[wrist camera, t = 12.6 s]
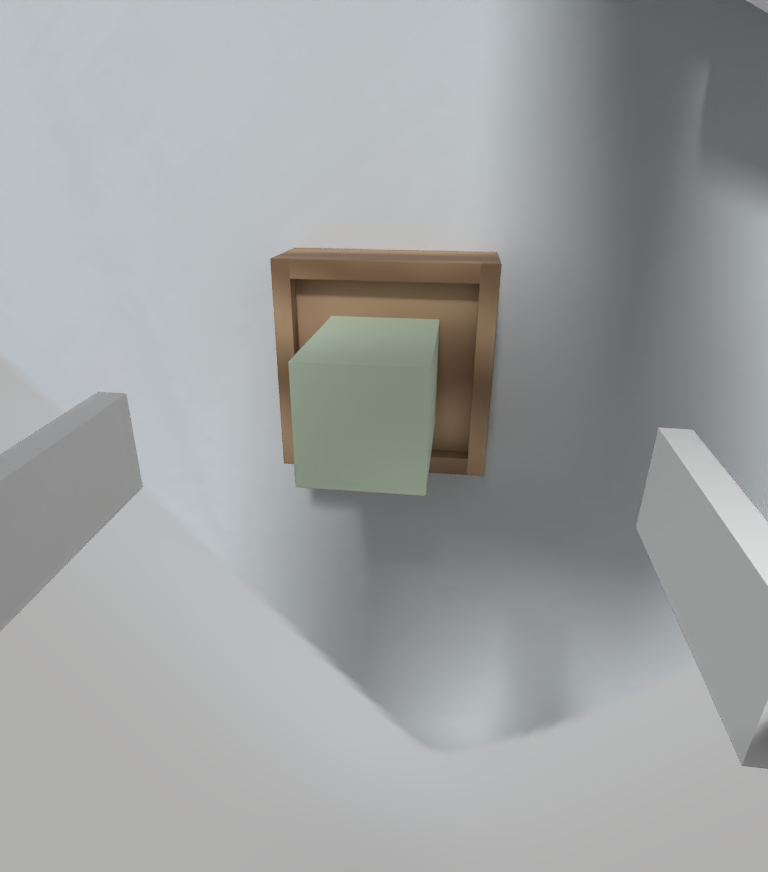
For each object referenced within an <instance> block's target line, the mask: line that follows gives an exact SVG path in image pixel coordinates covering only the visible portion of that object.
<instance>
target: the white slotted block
mask: <svg viewBox="0 0 768 872" xmlns="http://www.w3.org/2000/svg"><path fill="white" fill-rule="evenodd" d="M746 1H748V2H749V3H751V4H753V5H754V6H756V7H758V8H760V9H761V10H763V11H765V12H767V13H768V0H746Z"/></svg>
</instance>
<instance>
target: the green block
mask: <svg viewBox="0 0 768 872" xmlns="http://www.w3.org/2000/svg"><path fill="white" fill-rule="evenodd" d="M439 321H440V319H412V318H382V317H352V316H331V317H330V318H329V319H328V320H327V321H326V322H325V323H324V324H323V325H322V327H321V328H320V329H319V330H318V331H317V332H316V333H315V334H314V335H313V336H312V337H311V338H310V339H309V340H308V341H307V342H306V344H305V345H304V346H303V347H302V348H301V349H300V350H299V351H298V352H297V353H296V354H295V355H294V356H293V357H292V358H291V359H290V361H289V362H288V365H289V382H290V399H291V415H292V432H293V449H294V466H295V483H296V487H300V488H315V489H330V490H345V491H360V492H375V493H390V494H406V495H421V496H426V489H427V482H428V474H429V466H430V458H431V450H432V442H433V434H434V427H435V414H436V391H437V367H438V344H439Z"/></svg>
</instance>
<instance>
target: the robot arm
mask: <svg viewBox="0 0 768 872" xmlns="http://www.w3.org/2000/svg"><path fill="white" fill-rule="evenodd" d="M142 487H143V486H142V480H141V475H140V469H139V463H138V458H137V452H136V446H135V441H134V435H133V429H132V424H131V418H130V412H129V407H128V401H127V395H126V394H123V393H107V392H97V393H96V394H94V395H93V396H91V397H89V398H88V399H86V400H85V401H83V402H82V403H80V404H78V405H77V406H75V407H74V408H72V409H71V410H69V411H67V412H66V413H64V414H63V415H61V416H60V417H58V418H56V419H55V420H53V421H52V422H50V423H49V424H47V425H46V426H44V427H42V428H41V429H39V430H38V431H36V432H35V433H33V434H31V435H30V436H28V437H27V438H25V439H24V440H22V441H20V442H19V443H17V444H16V445H14V446H13V447H11V448H9V449H8V450H7V451H5V452H3V453H2V454H0V631H1V630H2V629H3V628H4V627H5V626H6V625H7V624H8V623H9V622H10V621H11V620H12V619H13V618H14V617H15V616H16V615H17V614H18V613H19V612H20V611H21V610H22V609H23V608H24V607H25V606H26V605H27V604H28V603H29V602H30V601H31V600H32V599H33V598H34V597H35V596H36V595H37V594H38V593H39V592H40V591H41V590H42V589H43V588H44V587H45V586H46V585H47V584H48V583H49V582H50V581H51V579H52V578H54V577H55V575H57V574H58V573H59V571H60V570H61V569H62V568H63V567H64V566H65V565H66V564H67V563H68V562H69V561H70V560H71V559H72V558H73V557H74V556H75V555H76V554H77V553H78V552H79V551H80V550H81V549H82V548H83V547H84V546H85V545H86V544H87V543H88V542H89V541H90V540H91V539H92V538H93V537H94V536H95V535H96V534H97V533H98V532H99V531H100V530H101V529H102V528H103V527H104V526H105V525H106V524H107V523H108V522H109V521H110V520H111V519H112V518H113V517H114V516H115V515H116V514H117V513H118V512H119V511H120V510H121V508H123V507H124V505H126V504H127V502H128V501H129V500H131V499H132V497H133V496H134V495H135V494H136V493H137V492H138V491H139V490H140V489H141V488H142ZM636 529H637V531H638V533H639V535H640V538H641V540H642V542H643V544H644V547H645V549H646V551H647V553H648V556H649V558H650V560H651V562H652V565H653V567H654V569H655V571H656V574H657V576H658V578H659V580H660V583H661V585H662V587H663V589H664V592H665V594H666V596H667V598H668V601H669V603H670V605H671V607H672V610H673V612H674V614H675V616H676V619H677V621H678V623H679V625H680V628H681V630H682V632H683V634H684V637H685V639H686V641H687V643H688V646H689V648H690V650H691V652H692V655H693V657H694V659H695V661H696V664H697V666H698V668H699V670H700V672H701V675H702V677H703V679H704V681H705V684H706V686H707V688H708V690H709V693H710V695H711V697H712V699H713V702H714V704H715V706H716V708H717V711H718V713H719V715H720V717H721V720H722V722H723V724H724V726H725V729H726V731H727V733H728V735H729V737H730V740H731V742H732V744H733V747H734V749H735V751H736V753H737V756H738V758H739V760H740V762H741V764H742V766H750V767H758V768H767V769H768V522H767V521H766V519H765V518H764V517H763V516H762V514H761V513H760V512H759V511H758V509H757V508H756V507H755V506H754V505H753V503H752V502H751V501H750V500H749V498H748V497H747V496H746V495H745V493H744V492H743V491H742V490H741V488H740V487H739V486H738V485H737V484H736V482H735V481H734V480H733V479H732V477H731V476H730V475H729V474H728V472H727V471H726V470H725V469H724V468H723V466H722V465H721V464H720V463H719V461H718V460H717V459H716V458H715V456H714V455H713V454H712V453H711V451H710V450H709V449H708V448H707V447H706V445H705V444H704V443H703V442H702V440H701V439H700V438H699V437H698V435H697V434H696V433H695V432H694V430H692V429H676V428H660V427H658V431H657V435H656V440H655V444H654V449H653V453H652V458H651V462H650V466H649V471H648V475H647V480H646V484H645V489H644V493H643V497H642V502H641V506H640V511H639V515H638V520H637V524H636Z"/></svg>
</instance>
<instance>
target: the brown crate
mask: <svg viewBox="0 0 768 872" xmlns="http://www.w3.org/2000/svg"><path fill="white" fill-rule="evenodd" d="M271 274H272V290H273V305H274V320H275V335H276V350H277V365H278V380H279V395H280V411H281V426H282V441H283V456H284V463H287V464H294V449H293V432H292V415H291V399H290V382H289V365H288V362H289V361H290V359H291V358H292V357H293V356H294V355H295V354H296V353H297V352H298V351H299V350H300V349H301V348H302V347H303V346H304V345H305V344H306V342H307V341H308V340H309V339H310V338H311V337H312V336H313V335H314V334H315V333H316V332H317V331H318V330H319V329H320V328H321V327H322V325H323V324H324V323H325V322H326V321H327V320H328V319H329V318H330V317H331V316H352V317H382V318H412V319H440V321H439V344H438V367H437V391H436V414H435V427H434V434H433V442H432V450H431V458H430V466H429V472H431V473H447V474H463V475H479V476H484V470H485V458H486V445H487V433H488V421H489V409H490V396H491V384H492V372H493V360H494V347H495V335H496V323H497V311H498V298H499V286H500V274H501V262H500V259H499V257H498V254H497V252H459V251H413V250H367V249H321V248H294V249H291V250H289V251H287V252H285V253H282V254H280V255H278V256H276V257H273V258H271Z"/></svg>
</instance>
